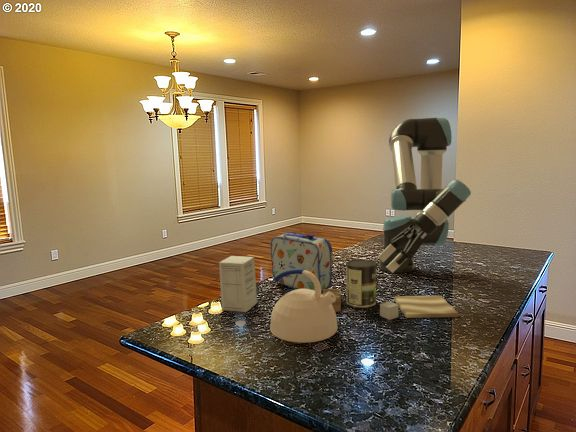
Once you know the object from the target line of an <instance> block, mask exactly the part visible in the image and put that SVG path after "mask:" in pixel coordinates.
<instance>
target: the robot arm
mask: <svg viewBox="0 0 576 432" xmlns="http://www.w3.org/2000/svg"><path fill="white" fill-rule="evenodd" d="M452 138H453V137H452V129H451V123H450V122H449V120H448V119H447V118H445V117H427V118H426V117H425V118H409V119H405V120H403V121H401V122H400V123H398V124H397V125H396V126H395V127H394V128H393V130H392V132H391V133H390V135H389V139H388V146H389V147H388V148H389V150H390V152H391V153H392V163H393V174H394V186H395V189H392V190H391V192H390V208H391V209H392V210H394V211H403V212H404V211H418V212H417V213H416V214H415V217H414V218H412V217H411V215H410V214H409V215H408V214H402V215H393V216H389V217H386V218H385V220H384V221H383V228H382V231H383V243H382V245H383V247H382V248H383V249H382V251H381V253H380V254H379V255H378V256H377V259H378V260H379V264H378V268H379V269H380V270H382V271H384V272H386V273H387V272H388V273H392V274H394V273H396V274H397V273H400V274H402V273H403V274H404V273H410V272H413V271H414V270H415V262H414V259H413V258H414V256H415V255H416V253H418V250H419V249H420V247H421V246H429V247H431V246H432V247H434V246H443V245H444V244H445V243H446V241H447V239H448V236H449V228H450V227H449V224H450V223H449V220H448V218H449V217H450V216H451V215H452V214H453V213H454V212H455V211H456V210H457V209H458V208H459V207H460V206H461V205H463V204H464V202H466V201H467V199H468V198H470V196H471V194H472V191H471V190H470V188H469V187H468V186H467V185H466V184H465V183H464V182H462V181H461V180H459V179H452V180H451V181H449V183H448V184H446V186H445V187H444V188H442V187H443V185H442V183H443V155H444V154H445V153H446V151H447V147H450V146H451V144H452ZM413 148H416V149H417V153H419V155H420V180H419V181H420V188H418V186H417V179H416V172H415V171H416V170H415V165H414V158H413V150H412V149H413Z"/></svg>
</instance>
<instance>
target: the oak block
mask: <svg viewBox="0 0 576 432" xmlns="http://www.w3.org/2000/svg"><path fill="white" fill-rule="evenodd" d="M327 292H335V293H336V294H337V295H339V296H340V299H341V300H342V295H341V294H342V293H341V289H340V288H328V289H323V290H322V294H324V293H327Z"/></svg>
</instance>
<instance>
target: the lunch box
mask: <svg viewBox="0 0 576 432" xmlns="http://www.w3.org/2000/svg"><path fill="white" fill-rule="evenodd" d="M270 258H271V270H272V271H271V272H272V276H273V279H274V278H275V277H276V276H277V275H279V274H281V273H283V272H286V271H290V270H297V269H300V270H306V271H309V272H311V273H313V274H314V275H315V276H316V277H317V279H318V280H319V282H320V285H321V291H323V289H331V287H332V286H331V285H332V282H333V281H332V280H333V265H334V262H336V260H335V256H334V254H333V246H332V244H331V242H330V241H329V240H328V239H327V238H324V237H321V236H320V237H319V236H315V234H307V235H306V234H302V233H298V232H290V231H287V232H284V233H283V234H279V235H277V236H273V237H272V238H271V240H270ZM276 282H277V283H278V284H281V285H285V287H286V286H287V287H289V288H290V289H292V290H297V289H310V290H314V291H315V286H314V283H313V282H312V280H311V279H310V278H309V277H308V276H306V275H304V274H291V275H287V276H285V277H283V278H281V279H280V280H279V281H276Z"/></svg>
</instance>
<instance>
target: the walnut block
mask: <svg viewBox="0 0 576 432" xmlns="http://www.w3.org/2000/svg"><path fill="white" fill-rule="evenodd" d="M332 293H333V294H334V295H335V297H336V301H335V302H333V303H332V306H333V308H334V311H335V313H337V312H341V311H342V310H341V305H342V298H341V299H340V296H339V295H337V294H336V293H335V292H332ZM321 294H322V295H323V296H324V295H325V294H327V293H324V294H323V293H321Z"/></svg>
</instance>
